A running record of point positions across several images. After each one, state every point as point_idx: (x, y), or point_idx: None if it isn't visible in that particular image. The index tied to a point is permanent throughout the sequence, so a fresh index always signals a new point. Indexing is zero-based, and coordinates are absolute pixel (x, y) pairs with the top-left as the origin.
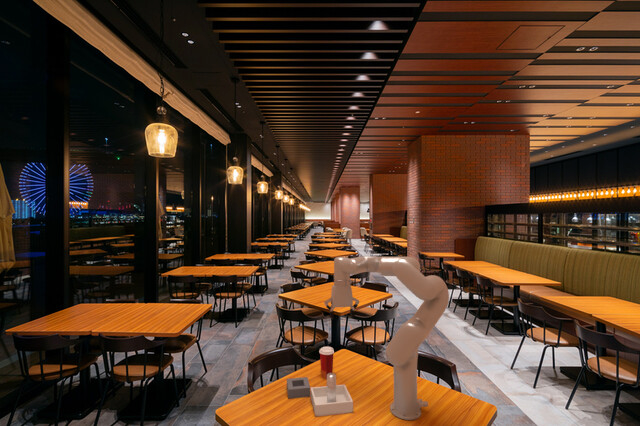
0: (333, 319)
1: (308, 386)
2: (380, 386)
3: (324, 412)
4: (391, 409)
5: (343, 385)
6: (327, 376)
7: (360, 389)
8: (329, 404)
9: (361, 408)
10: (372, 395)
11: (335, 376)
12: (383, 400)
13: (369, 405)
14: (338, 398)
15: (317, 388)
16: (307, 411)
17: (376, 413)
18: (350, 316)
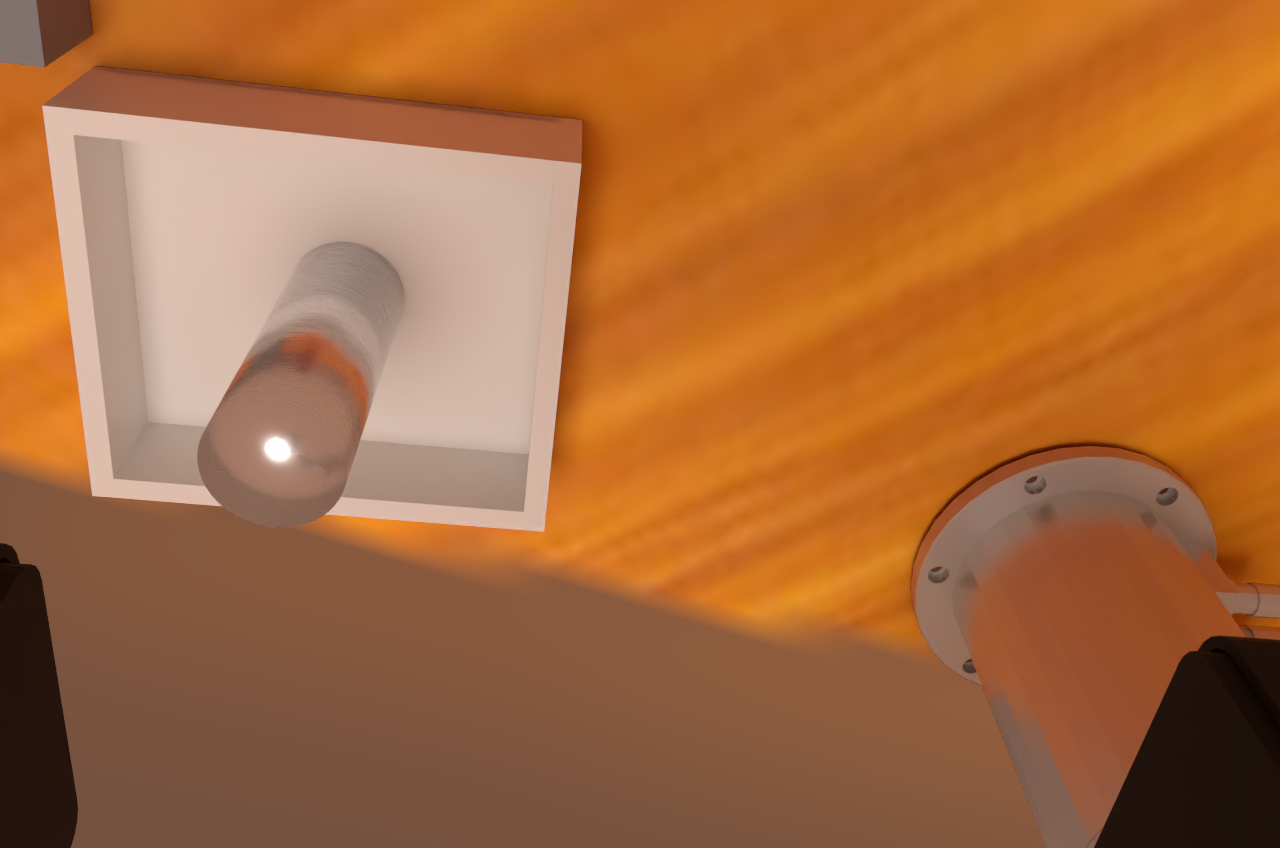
0: (71, 825)
1: (16, 26)
2: (1150, 69)
3: None
4: (925, 567)
5: (553, 185)
6: (205, 477)
7: (844, 62)
8: None
9: (662, 427)
10: (915, 239)
11: (333, 502)
12: (973, 362)
13: (772, 403)
14: (460, 222)
15: (153, 140)
16: (47, 328)
17: (770, 529)
18: (1180, 744)
